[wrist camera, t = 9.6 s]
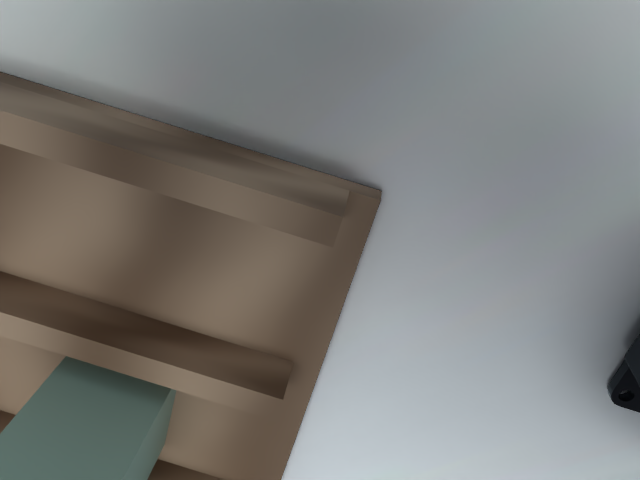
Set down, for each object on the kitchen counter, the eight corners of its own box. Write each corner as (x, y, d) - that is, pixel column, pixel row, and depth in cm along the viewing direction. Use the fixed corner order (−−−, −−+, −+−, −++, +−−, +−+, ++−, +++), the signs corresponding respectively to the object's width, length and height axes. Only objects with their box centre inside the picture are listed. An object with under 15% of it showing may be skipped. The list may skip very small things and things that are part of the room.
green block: (180, 372, 22) (91, 537, 16) (164, 444, 24) (78, 618, 18) (79, 340, 22) (-50, 492, 16) (71, 415, 24) (-48, 578, 18)
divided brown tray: (381, 191, 19) (377, 228, 16) (273, 495, 25) (259, 553, 23) (-39, 59, 19) (-108, 76, 16) (-33, 400, 25) (-81, 448, 23)
